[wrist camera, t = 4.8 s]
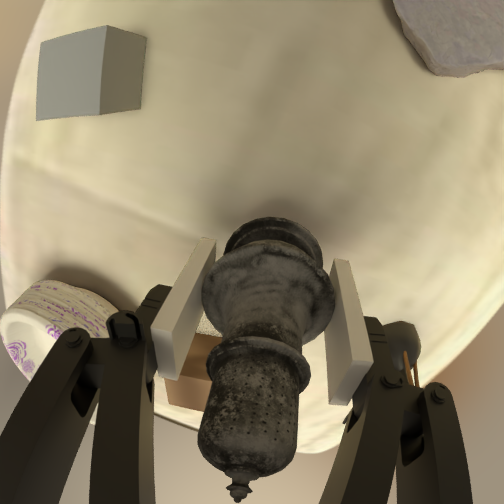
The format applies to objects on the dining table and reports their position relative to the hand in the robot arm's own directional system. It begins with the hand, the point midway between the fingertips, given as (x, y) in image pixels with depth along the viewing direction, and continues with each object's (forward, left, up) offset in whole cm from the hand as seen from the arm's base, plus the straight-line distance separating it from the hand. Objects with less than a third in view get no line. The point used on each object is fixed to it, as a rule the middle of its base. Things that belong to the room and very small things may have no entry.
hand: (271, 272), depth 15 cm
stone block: (-9, -19, -6) cm, 22 cm away
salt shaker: (0, 0, -1) cm, 1 cm away
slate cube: (+12, -10, -6) cm, 17 cm away
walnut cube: (+4, +13, -6) cm, 15 cm away
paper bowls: (+16, +13, -6) cm, 22 cm away
